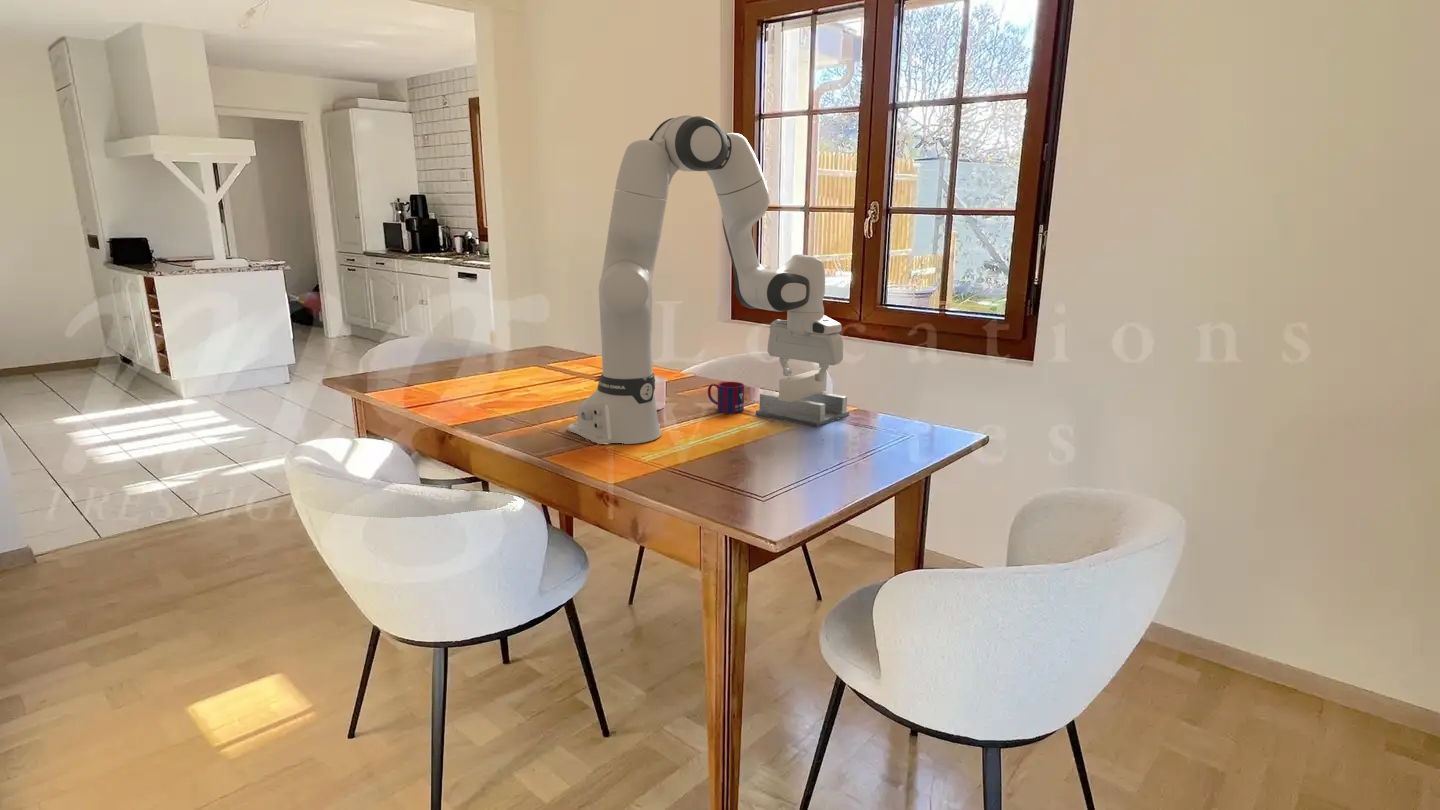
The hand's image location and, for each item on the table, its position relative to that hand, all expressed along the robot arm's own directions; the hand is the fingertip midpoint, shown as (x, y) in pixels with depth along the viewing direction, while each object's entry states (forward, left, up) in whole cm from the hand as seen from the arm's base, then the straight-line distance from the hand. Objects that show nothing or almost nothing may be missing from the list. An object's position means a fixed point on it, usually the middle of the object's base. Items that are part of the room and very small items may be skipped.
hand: (803, 378), depth 193 cm
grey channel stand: (0, 0, -9) cm, 9 cm away
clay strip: (0, 0, -4) cm, 4 cm away
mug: (-18, -8, -10) cm, 22 cm away
